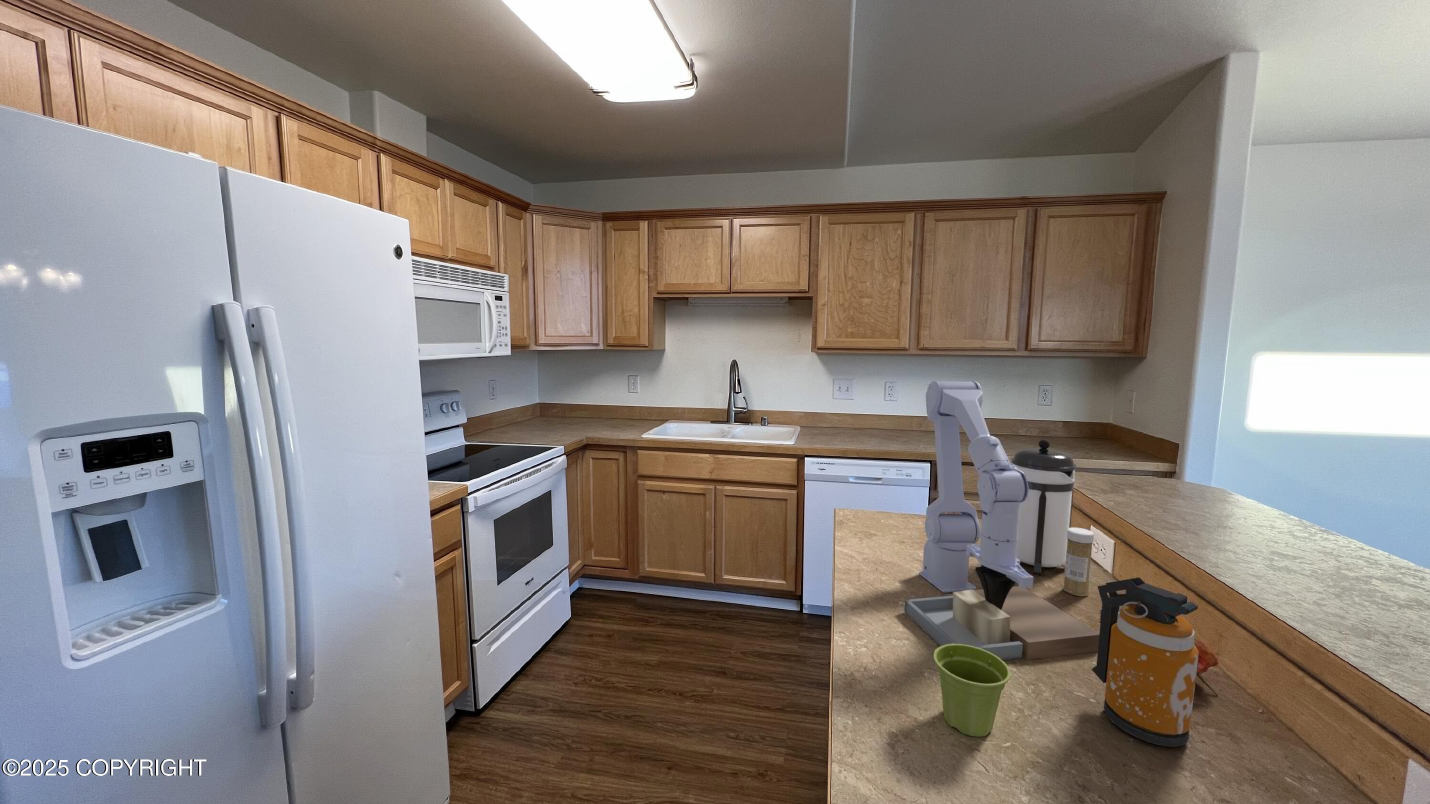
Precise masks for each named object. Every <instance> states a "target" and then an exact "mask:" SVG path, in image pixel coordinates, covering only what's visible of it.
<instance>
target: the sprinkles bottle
mask: <svg viewBox="0 0 1430 804" xmlns="http://www.w3.org/2000/svg"><path fill="white" fill-rule="evenodd" d="M1094 536H1095V533H1094V532H1093V531H1091V530H1089V529H1087V528H1081V527H1070V528H1069V529H1068V530H1067V540H1068V541H1067V551H1066V561H1065V563H1064V564H1065V568H1064V578H1063V586H1062V589H1063V591H1065V592H1066V593H1067V594H1069V595H1071V596H1072V595H1073V596H1076V597H1087V596H1089V594H1090V591H1089V589H1090V580H1091V569H1092V565H1091V563H1092V562H1091V561H1092V552H1093V551H1092V550H1093V543H1094V538H1095V537H1094Z"/></svg>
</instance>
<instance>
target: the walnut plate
mask: <svg viewBox="0 0 1430 804" xmlns="http://www.w3.org/2000/svg"><path fill="white" fill-rule="evenodd" d="M973 591H975V592H976V593H978V594H979V595H980V596H982V597H983V598H985V595H984V590H983V588H982V589H981V588H979V589H976V590H973ZM1002 611H1003V612H1004V613H1006V614H1007V615H1009V616H1010V642H1017V641H1020V642H1021V643H1022V644H1023V649H1022V658H1025V660H1034V659H1035V660H1036V659H1042V658H1043V659H1045V658H1051V657H1059V656H1068V655H1076V654H1077V655H1078V654H1087V653H1093V652H1094V653H1096V652H1098V643H1099V632H1098V631H1097V630H1095V629H1093V628H1091V627H1090V626H1089V625H1086V624H1085V623H1083V622H1081V621H1080V620H1079V619H1076V618H1075V617H1073V616H1072V615H1070V614H1068V613H1067V612H1065V611H1063V610H1062V609H1060V608H1058V606H1055V605H1053V604H1052V603H1051V602H1050V601H1047V600H1045V599H1044V598H1042V597H1041V596H1039V595H1037V594H1036V593H1034V592H1032V591H1030V590H1029V589H1028V588H1024V589H1022V588H1021V587H1019V586H1017V585H1015V586H1013V587H1012V588H1011V590H1010V591H1009V593H1008V595H1007V597H1006V599H1005V602H1004V604H1003V607H1002Z"/></svg>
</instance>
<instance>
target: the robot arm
mask: <svg viewBox="0 0 1430 804" xmlns="http://www.w3.org/2000/svg"><path fill="white" fill-rule="evenodd" d="M983 398H984V392H983V388H982V386H981V384H980V383H979V382H978V381H976V380H971V381H938V380H932V381H931V382H930V383H929V385H928V387H927V389H926V392H925V405H926V406H925V407H926V408H925V409H926V415H927V420H929V421H930V422H932V423H933V427H934V429H933V430H934V439H935V440H934V442H935V456H936V458H935V459H936V475H937V486H938V487H937V489H938V498H937V499H935V500H934V501H933V502H931V503H930V504H929V505H928V506H927V507H926V510H925V520H924V530H925V536H926V538H927V540H926V542H925V543H924V546H923V556H922V557H923V558H922V560H923V561H922V570H919V571H918V574H919V575H920V576H921V577H923V578H924V579H925V580H927V581H928V582H929V583H930V584H931V585H933V586H934V587H935V588H936V589H938V590H939V591H941V592H942V593H953V592H959V591H965V590H978V589H977V586H975V585H974V584H972V583H971V582H970V581H968V580H969V578H968V577H969V564H970V563H969V562H970V557H973V558H975V559H976V560H977V562H978V563H979V564H981V566H975V569H974V571H975V573H976V575H977V576H978V578H979V581H980V584H981V587H982V589H983V590H984V595H985V599H986V601H988V602H989V603H991V604H993V605H995V606H996V607H997V608H999V609H1000V610H1002V607H1003V604H1004V602H1005V599H1006V597H1007V595H1008V593H1009V591H1010V590H1011V588H1012V587H1014V585H1016V584H1017V585H1018V586H1019V587H1021V588H1022V589H1024V588H1026V589H1033V587H1034V576H1033V575H1031V574H1029V573H1028V572H1027V571H1026V569H1024V567H1022V566H1021V565H1020V564H1021V561H1020V560H1019V559H1018V558H1016V554H1017V538H1018V523H1019V509H1020V503H1019V502H1024V501H1025V500H1026V499H1027V496H1028V491H1029V487H1028V481H1027V478H1026V476H1025V474H1024V472H1023V471H1021V470H1019V469H1017V467H1016V466H1015V465H1013V464H1012V462H1011V460H1010V459H1009V457H1008V455H1007V453H1006V451H1005V449H1004V447H1003V445H1002V443H1001V440H1000V439H999V438H998V437H995V436H993V435H991V434H990V432H989V428H988V425H987V423H986V419H985V417H984V414H983V412H982V406H983V401H984V400H983ZM960 425H961V428H962V429H963V431H964V432H965V434H966V436H967V438H968V439H969V441H970V443H969V445H968V446H967V450H968V451H967V452H968V454H969V456H970V458H971V460H972V461H971V462H972V463H973V466H974V468H975V470H976V472H977V475H978V479H977V483H976V485H977V486H976V487H977V492H978V497H979V508H980V509H981V510H982V513H981V514H982V515H981V524H980V521H979V517H978V513H977V509H976V507H975V506H973V504H971V503H969V502H968V501H967V500H966V499H965V496H964V483H963V468H962V456H961V455H962V451H961V442H960V441H961V439H960ZM954 512H955V513H954ZM979 539H980V545H978V544H977V542H978V541H979Z"/></svg>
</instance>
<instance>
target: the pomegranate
mask: <svg viewBox="0 0 1430 804" xmlns="http://www.w3.org/2000/svg"><path fill="white" fill-rule="evenodd" d="M1194 645H1195V647H1196V648H1197V649H1198V652H1199V654H1198V663H1197V672H1196V677H1198V679H1199V680H1200V681H1201V682H1202V683H1203V684H1204V685H1206V686H1207V688H1209V689H1210V690H1211V692H1212V693H1214V694H1215V696H1217V697H1218V696H1219V694H1217V692H1216V691H1214V689H1213V688H1212V687H1211V685H1210V684H1208V682H1206V680H1205V679H1204V678H1203V676H1202V675H1201V674H1204V673H1206V672H1207V671H1208V669H1209V668H1212V667H1216V666H1218V665H1219V664H1220V662H1219V659H1218V657H1217V655H1216V654H1215V652H1214V651H1213V650H1212V649H1211V648H1210V647H1209V646H1208V645H1207V644H1206V643H1204V642H1203V641H1201V640H1199V639H1197V638H1195V637H1194Z"/></svg>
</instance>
